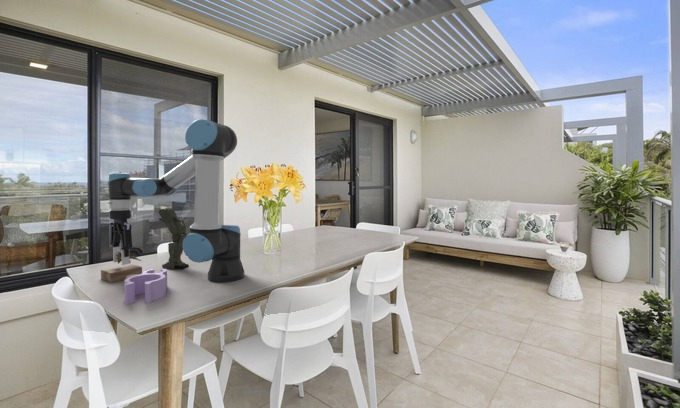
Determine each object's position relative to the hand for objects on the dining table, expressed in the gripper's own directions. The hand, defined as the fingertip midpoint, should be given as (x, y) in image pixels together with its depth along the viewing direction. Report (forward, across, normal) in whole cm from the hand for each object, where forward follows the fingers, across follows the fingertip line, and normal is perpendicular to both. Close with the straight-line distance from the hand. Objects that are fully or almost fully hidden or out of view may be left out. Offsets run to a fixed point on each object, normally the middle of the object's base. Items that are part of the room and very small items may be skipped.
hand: (121, 262), depth 137 cm
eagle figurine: (0, +1, +3) cm, 3 cm away
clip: (+7, +30, -4) cm, 31 cm away
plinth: (+6, 0, 0) cm, 6 cm away
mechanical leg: (+7, +2, +22) cm, 23 cm away
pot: (+6, +20, -4) cm, 21 cm away
